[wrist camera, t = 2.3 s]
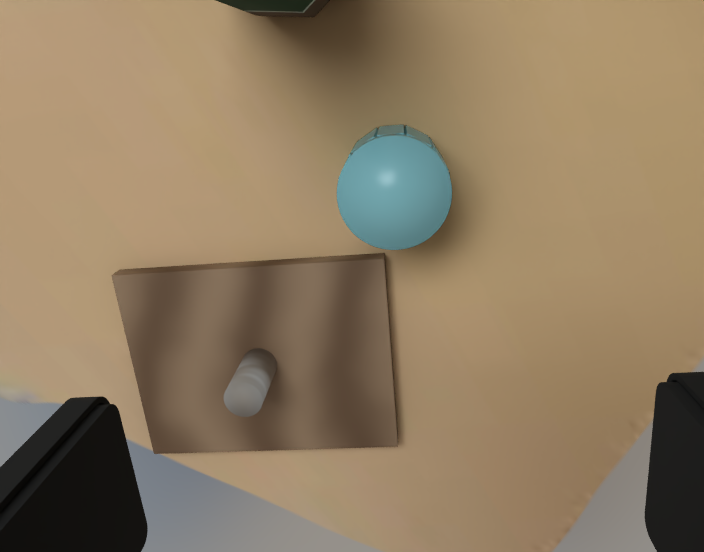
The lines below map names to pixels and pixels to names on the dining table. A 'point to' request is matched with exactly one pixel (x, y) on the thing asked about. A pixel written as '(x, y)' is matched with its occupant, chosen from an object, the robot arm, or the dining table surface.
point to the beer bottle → (279, 7)
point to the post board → (273, 317)
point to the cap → (394, 188)
